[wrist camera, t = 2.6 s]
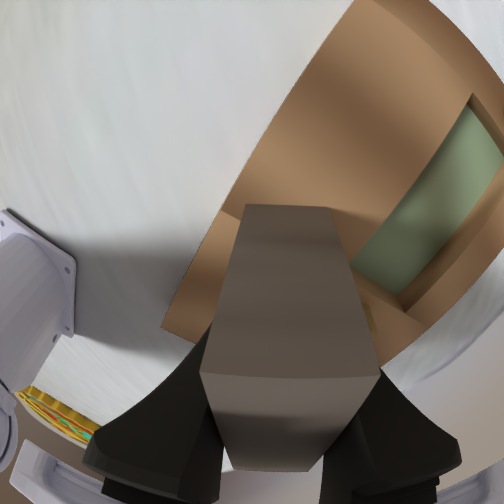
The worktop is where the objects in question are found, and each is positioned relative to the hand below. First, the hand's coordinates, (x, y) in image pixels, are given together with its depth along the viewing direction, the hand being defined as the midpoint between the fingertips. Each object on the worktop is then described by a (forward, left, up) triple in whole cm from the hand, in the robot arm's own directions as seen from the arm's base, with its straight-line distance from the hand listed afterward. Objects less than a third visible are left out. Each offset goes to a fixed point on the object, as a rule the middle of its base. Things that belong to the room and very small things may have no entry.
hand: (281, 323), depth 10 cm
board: (+4, -2, -4) cm, 6 cm away
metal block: (0, 0, -2) cm, 2 cm away
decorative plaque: (-60, +14, -4) cm, 62 cm away
